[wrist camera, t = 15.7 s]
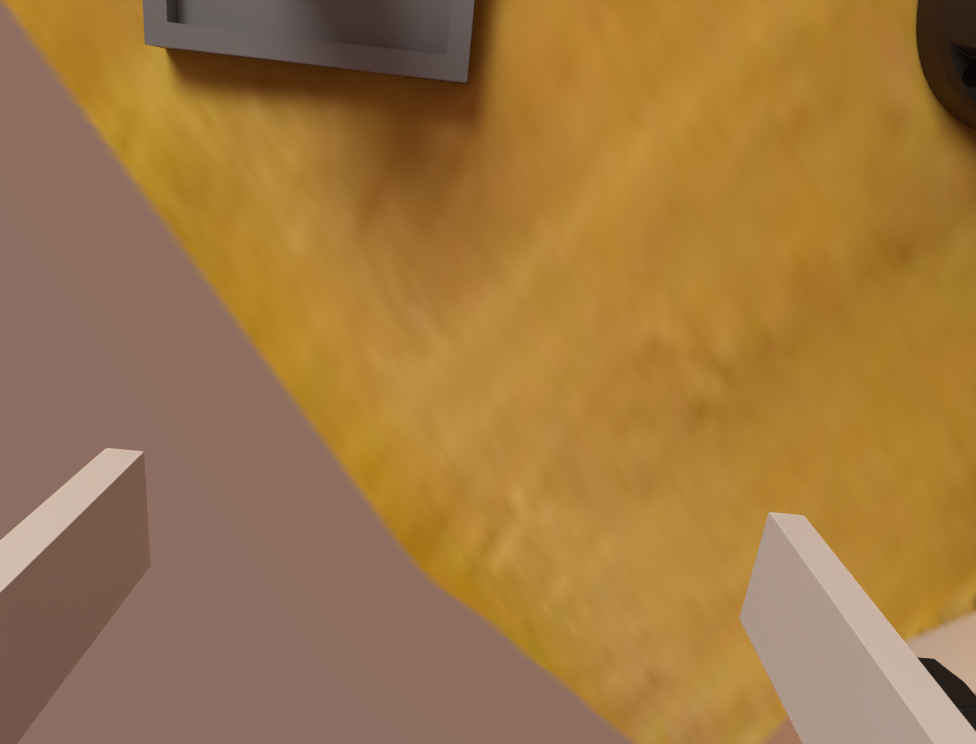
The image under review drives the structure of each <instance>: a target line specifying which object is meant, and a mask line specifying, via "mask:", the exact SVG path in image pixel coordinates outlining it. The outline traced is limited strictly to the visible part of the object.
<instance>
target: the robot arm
mask: <svg viewBox="0 0 976 744" xmlns="http://www.w3.org/2000/svg"><path fill="white" fill-rule="evenodd" d="M917 40H918V48H919V53H920V58H921V62H922V66H923V69H924V71H925V74H926V77H927V79H928V81H929V83H930V85H931V87H932V89H933V91H934V93H935V94H936V95H937V97H938V98H939V100H940V101H941V102H942V104H943V105H944V106H945V107H946V108H947V109H948V110H949V111H950V112H951V113H952V114H953V115H954V116H955V117H956V118H957V119H959V120H960V121H961V122H963V123H964V124H966V125H967V126H969V127H971V128H973V129H975V130H976V0H919V1H918V10H917ZM148 531H149V530H148V513H147V495H146V477H145V459H144V452H142V451H132V450H122V449H112V448H106V449H105V450H103V451H102V452H101V453H100V454H99V455H98V456H97V457H95V458H94V459H93V460H92V461H91V462H90V463H89V464H87V466H85V467H84V468H83V469H82V470H81V471H79V472H78V473H77V474H76V475H75V476H74V477H72V478H71V479H70V480H69V481H68V482H67V483H66V484H65V485H63V486H62V487H61V488H60V489H59V490H58V491H57V492H55V493H54V494H53V495H52V496H51V497H50V498H48V499H47V500H46V501H45V502H44V503H43V504H42V505H40V506H39V507H38V508H37V509H36V510H35V511H34V512H32V513H31V514H30V515H29V516H28V517H27V518H25V519H24V520H23V521H22V522H21V523H20V524H19V525H17V526H16V527H15V528H14V529H13V530H12V531H11V532H9V533H8V534H7V535H6V536H5V537H4V538H3V539H2V540H0V744H17V743H18V741H19V740H20V738H21V737H22V736H23V735H24V733H25V732H26V731H27V729H28V728H29V726H30V725H31V724H32V723H33V721H34V720H35V719H36V717H37V716H38V715H39V713H40V712H41V711H42V709H43V708H44V707H45V705H46V704H47V703H48V701H49V700H50V699H51V697H52V696H53V695H54V693H55V692H56V691H57V689H58V688H59V687H60V685H61V684H62V683H63V681H64V680H65V679H66V677H67V676H68V675H69V673H70V672H71V670H72V669H73V668H74V667H75V665H76V664H77V663H78V661H79V660H80V659H81V657H82V656H83V655H84V653H85V652H86V651H87V649H88V648H89V647H90V645H91V644H92V643H93V641H94V640H95V639H96V637H97V636H98V635H99V633H100V632H101V631H102V629H103V628H104V626H105V625H106V624H107V622H108V621H109V620H110V619H111V617H112V616H113V614H114V613H115V612H116V611H117V609H118V608H119V607H120V605H121V604H122V602H123V601H124V600H125V598H126V597H127V596H128V594H129V593H130V592H131V590H132V589H133V588H134V586H135V585H136V584H137V582H138V581H139V580H140V578H141V577H142V576H143V574H144V573H145V572H146V570H147V569H148V568H149V566H150V548H149V532H148ZM740 621H741V622H742V624H743V626H744V628H745V630H746V632H747V634H748V636H749V638H750V640H751V642H752V644H753V646H754V648H755V650H756V652H757V654H758V656H759V658H760V660H761V662H762V664H763V666H764V668H765V670H766V672H767V674H768V676H769V678H770V680H771V682H772V684H773V686H774V688H775V690H776V692H777V694H778V696H779V698H780V700H781V702H782V704H783V706H784V708H785V710H786V712H787V714H788V716H789V718H790V720H791V722H792V724H793V726H794V727H795V730H796V732H797V734H798V736H799V738H800V740H801V742H802V744H976V696H975V694H974V693H973V692H972V691H971V690H970V688H969V687H968V686H967V685H966V684H965V683H964V682H963V681H962V680H961V679H959V678H958V677H957V676H956V675H954V674H953V673H952V672H950V671H949V670H947V669H946V668H945V667H944V666H942V665H941V664H940V663H939V662H937V661H936V660H935V659H929V658H918V657H916V656H915V655H914V653H913V652H912V651H911V650H910V648H909V647H908V646H907V644H906V643H905V642H904V641H903V639H902V638H901V637H900V636H899V634H898V633H897V632H896V631H895V629H894V628H893V627H892V626H891V624H890V623H889V622H888V620H887V619H886V618H885V617H884V615H883V614H882V613H881V612H880V610H879V609H878V608H877V607H876V605H875V604H874V603H873V602H872V600H871V599H870V598H869V597H868V595H867V594H866V593H865V592H864V590H863V589H862V588H861V587H860V585H859V584H858V583H857V581H856V580H855V579H854V578H853V576H852V575H851V574H850V573H849V571H848V570H847V569H846V568H845V566H844V565H843V564H842V563H841V561H840V560H839V559H838V558H837V556H836V555H835V554H834V553H833V551H832V550H831V549H830V548H829V546H828V545H827V544H826V542H825V541H824V540H823V539H822V537H821V536H820V535H819V534H818V532H817V531H816V530H815V529H814V527H813V526H812V525H811V524H810V522H809V521H808V520H807V519H806V517H805V516H804V515H794V514H784V513H773V512H769V513H768V517H767V521H766V524H765V528H764V532H763V535H762V539H761V542H760V546H759V550H758V553H757V557H756V561H755V564H754V568H753V571H752V575H751V579H750V582H749V586H748V590H747V593H746V597H745V601H744V604H743V608H742V611H741V615H740Z"/></svg>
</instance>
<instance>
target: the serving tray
mask: <svg viewBox="0 0 976 744" xmlns="http://www.w3.org/2000/svg"><path fill="white" fill-rule="evenodd" d="M475 3H476V0H143V14H144V35H145V44H146V45H151V46H156V47H160V48H165V49H174V50H182V51H191V52H199V53H208V54H216V55H224V56H233V57H241V58H250V59H258V60H267V61H275V62H284V63H292V64H301V65H309V66H318V67H326V68H334V69H343V70H351V71H360V72H368V73H377V74H385V75H394V76H402V77H411V78H419V79H428V80H436V81H445V82H453V83H461V84H468V78H469V67H470V56H471V45H472V35H473V24H474V13H475Z"/></svg>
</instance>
